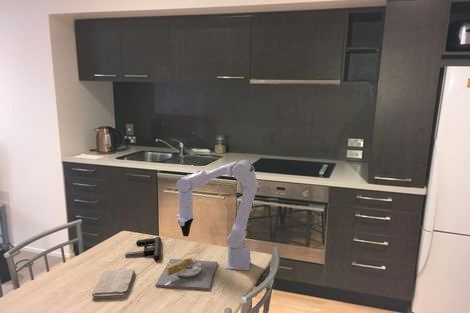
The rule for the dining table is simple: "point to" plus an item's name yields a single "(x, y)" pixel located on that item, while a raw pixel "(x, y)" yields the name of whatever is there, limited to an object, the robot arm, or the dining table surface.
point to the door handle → (152, 251)
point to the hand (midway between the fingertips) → (186, 235)
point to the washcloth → (113, 284)
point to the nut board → (196, 283)
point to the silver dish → (184, 268)
